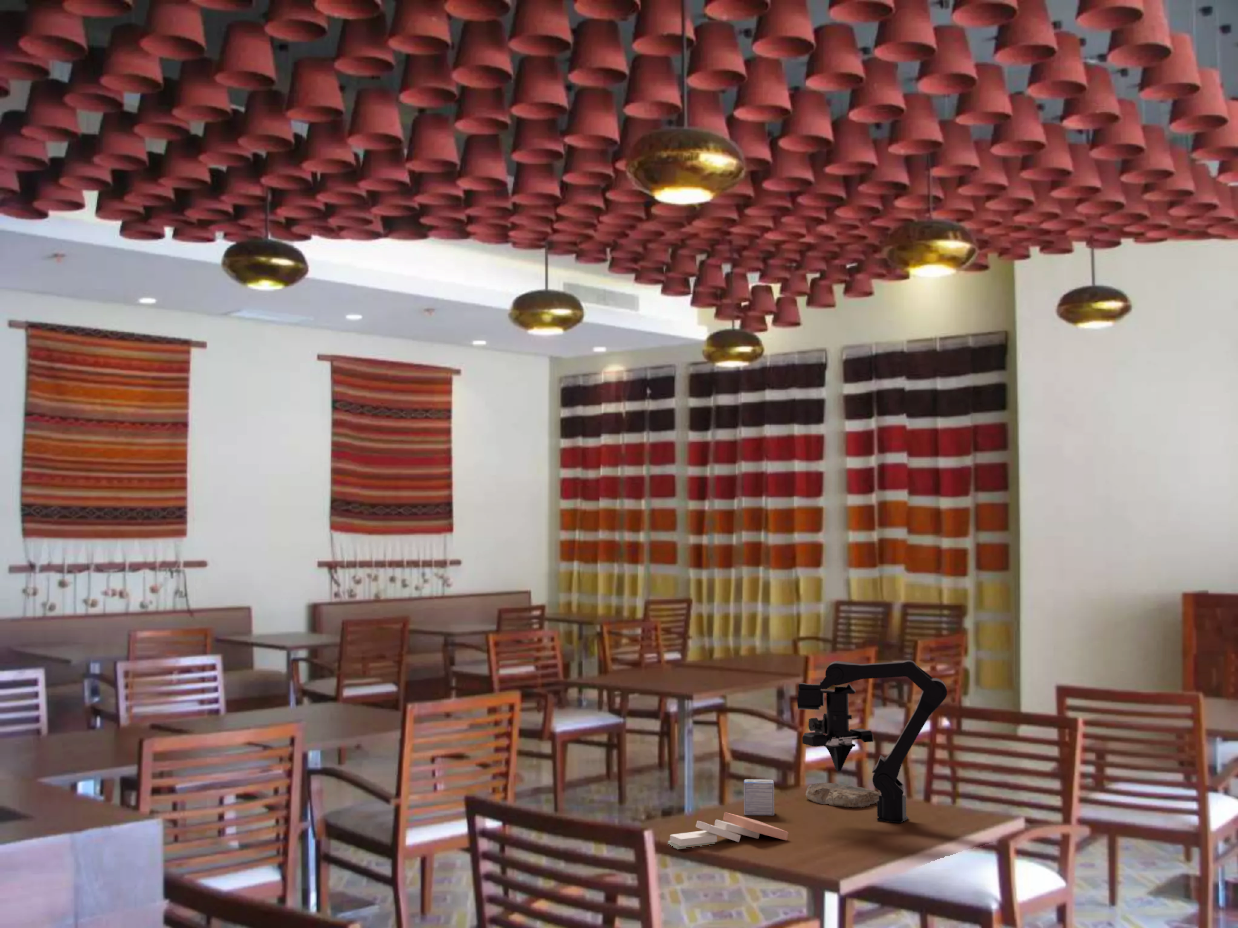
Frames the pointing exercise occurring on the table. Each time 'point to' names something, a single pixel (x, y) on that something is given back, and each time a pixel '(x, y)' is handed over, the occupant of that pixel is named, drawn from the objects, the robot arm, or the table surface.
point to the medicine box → (758, 797)
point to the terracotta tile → (755, 826)
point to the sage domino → (687, 845)
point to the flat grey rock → (841, 795)
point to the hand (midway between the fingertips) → (838, 770)
